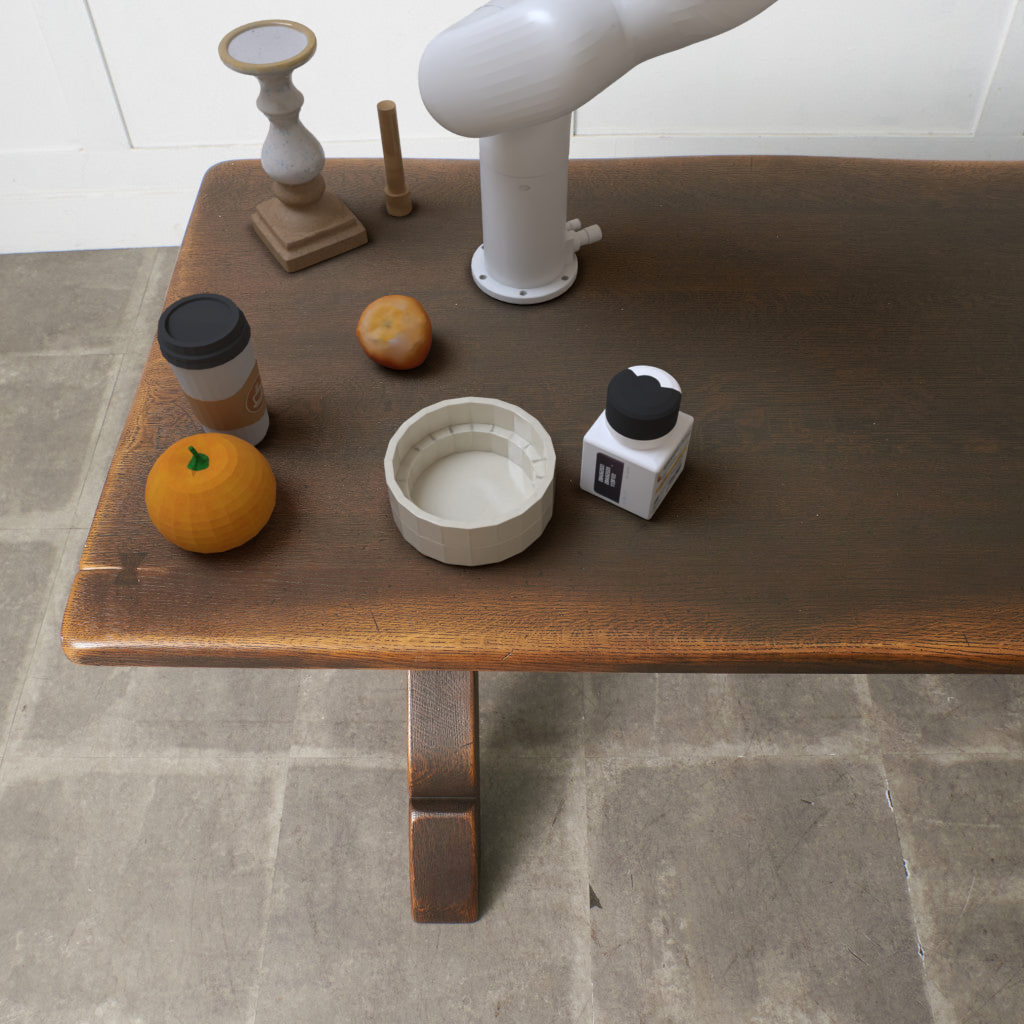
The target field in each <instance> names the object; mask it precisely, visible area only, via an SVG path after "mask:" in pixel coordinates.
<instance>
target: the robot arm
mask: <svg viewBox="0 0 1024 1024" xmlns="http://www.w3.org/2000/svg"><path fill="white" fill-rule="evenodd" d="M778 1H779V0H489V1H488V2H486V3H485V4H483V5H482V6H480V7H478V8H476V9H474V10H473V11H472V12H471V13H469V14H468V15H466V16H464V17H463V18H461V19H460V20H458V21H456V22H455V23H453V24H452V25H449V26H448V27H447V28H445V29H444V30H442V31H440V32H439V33H438V34H436V35H435V36H433V38H432V39H431V40H430V41H429V42H428V44H427V45H426V46H425V48H424V50H423V52H422V54H421V57H420V61H419V64H418V70H417V85H418V91H419V95H420V98H421V101H422V105H424V107H425V109H426V111H427V112H428V114H429V116H430V117H431V118H432V119H433V120H434V121H435V122H436V123H437V124H438V125H439V126H441V127H442V128H443V129H445V130H446V131H448V132H450V133H451V134H454V135H456V136H459V137H463V138H468V139H469V138H470V139H478V150H479V151H478V155H479V156H478V157H479V159H478V160H479V179H480V195H481V196H480V201H481V220H482V221H481V222H482V223H481V224H482V225H481V226H482V242H483V243H481V244H480V245H479V246H478V247H477V249H476V250H475V251H474V253H473V255H472V258H471V264H470V267H471V276H472V278H473V281H474V283H475V284H476V286H477V288H479V289H480V290H481V291H482V292H483V293H484V294H486V295H487V296H490V297H491V298H493V299H496V300H499V301H500V302H505V303H508V304H517V305H532V304H533V305H534V304H539V303H543V302H546V301H547V302H548V301H551V300H553V299H555V298H557V297H559V296H561V295H563V294H564V293H565V292H567V291H568V290H569V289H570V288H571V287H572V285H573V284H574V282H575V281H576V279H577V275H578V268H579V267H578V266H579V264H578V263H579V262H578V257H577V255H576V253H577V252H578V251H579V250H580V248H581V247H583V246H585V245H587V246H588V245H591V244H593V243H596V242H597V243H598V242H599V241H602V239H603V233H602V230H601V227H600V226H599V225H598V224H596V223H595V224H592V225H589V226H587V227H586V226H585V227H584V228H582V223H581V220H580V219H579V218H574V219H571V220H568V221H567V215H568V214H567V211H568V209H567V208H568V188H569V187H568V186H569V185H568V183H569V162H570V161H569V159H570V158H569V157H570V147H571V146H570V145H571V129H572V128H571V127H572V116H573V115H572V114H573V113H574V112H575V111H576V110H578V109H580V108H581V107H583V106H584V105H586V104H587V103H589V102H591V101H592V100H594V98H596V97H597V96H598V95H600V94H601V93H602V92H604V91H605V90H607V89H608V88H609V87H610V86H611V85H613V84H615V83H616V82H617V81H618V80H620V79H621V78H622V77H624V76H625V75H626V74H628V73H629V72H630V71H632V70H633V69H634V68H636V67H637V66H639V65H641V64H643V63H645V62H648V61H650V60H652V59H655V58H657V57H658V58H659V57H661V56H664V55H666V54H670V53H673V52H676V51H679V50H681V49H684V48H687V47H690V46H692V45H695V44H697V43H701V42H703V41H706V40H707V41H708V40H709V39H712V38H714V37H715V38H716V37H718V36H720V35H723V34H724V33H727V32H730V31H731V30H734V29H735V28H738V27H740V26H742V25H743V24H745V23H747V22H749V21H751V20H752V19H754V18H755V17H757V16H759V15H760V14H761V13H763V12H764V11H766V10H768V9H769V8H770V7H772V6H773V5H774V4H775V3H777V2H778Z"/></svg>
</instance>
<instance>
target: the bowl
mask: <svg viewBox="0 0 1024 1024" xmlns="http://www.w3.org/2000/svg"><path fill="white" fill-rule="evenodd" d="M383 466H384V475H385V483H386V488H387V493H388V498H389V503H390V508H391V514H392V518H393V521H394V524H395V525H396V527H397V528H398V530H399V533H400V534H401V535H402V538H403V539H404V541H406V542H408V543H409V544H410V545H411V546H412V547H413V548H415V550H417V551H418V552H420V553H421V554H422V555H423V556H427V557H429V558H432V559H434V560H437V561H439V562H442V563H444V564H447V565H455V566H457V565H458V566H466V567H476V566H483V565H489V564H494V563H500V562H503V561H506V560H507V559H509V558H512V557H513V556H516V555H518V554H520V553H523V552H524V551H525V550H526V549H527V548H528V547H530V546H531V545H532V544H533V543H534V542H535V541H536V540H538V539H539V538H540V537H541V536H542V534H543V533H544V531H545V529H546V527H547V525H548V523H549V522H550V520H551V519H552V516H553V511H554V503H555V497H556V495H555V494H556V473H557V471H556V470H557V455H556V451H555V447H554V444H553V440H552V437H551V436H550V434H549V433H548V431H547V430H546V429H545V427H544V426H543V425H542V424H541V422H540V421H539V420H538V419H537V418H536V417H534V416H533V415H532V414H530V413H528V412H527V411H526V410H524V409H523V408H522V407H520V406H518V405H515V404H512V403H510V402H506V401H503V400H501V399H498V398H492V397H481V396H480V397H479V396H465V397H456V398H449V399H444V400H441V401H439V402H435V403H433V404H431V405H428V406H426V407H423V408H421V409H420V410H419V411H418V412H416V413H414V414H413V415H411V416H410V417H409V418H408V419H406V420H405V421H403V423H401V425H400V426H399V427H398V429H397V430H396V432H395V433H394V435H392V437H391V438H390V440H389V443H388V445H387V449H386V452H385V456H384V459H383Z"/></svg>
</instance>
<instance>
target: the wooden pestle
mask: <svg viewBox="0 0 1024 1024" xmlns="http://www.w3.org/2000/svg"><path fill="white" fill-rule="evenodd" d="M376 110H377V111H376V113H377V118H378V126H379V133H380V140H381V141H380V142H381V147H382V155H383V162H384V170H385V177H386V185H385V186H384V189H383V190H384V191H383V192H384V199H385V207H386V211H387V213H388V215H390V216H392V217H398V218H399V217H404V216H405V217H406V216H407V215H409V214H410V213H411V212H412V210H413V205H412V196H411V195H412V194H411V187H410V185H409V184H408V183H407V182H406V179H405V170H404V162H403V153H402V145H401V137H400V136H401V135H400V128H399V121H398V112H397V104H396V102H395V101H393V100H391V99H390V100H389V99H385V100H384V99H383V100H381V101H379V102H377V104H376Z"/></svg>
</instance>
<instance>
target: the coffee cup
mask: <svg viewBox="0 0 1024 1024" xmlns="http://www.w3.org/2000/svg"><path fill="white" fill-rule="evenodd" d="M156 334H157V335H156V339H157V342H158V346H159V350H160V353H161V357H163V358H164V360H166V362H167V363H168V365H169V366H170V368H171V370H172V372H173V374H174V376H175V378H176V380H177V382H178V384H179V387H180V389H181V391H182V393H183V394H184V395H183V396H185V399H186V400H187V403H188V404H189V406H190V408H191V410H192V412H193V414H194V416H195V418H196V419H197V421H198V422H199V424H200V425H201V428H202V429H203V431H204V433H221V434H228V435H232V436H235V437H238V438H240V439H242V440H244V441H246V442H248V443H250V444H252V445H253V446H254V447H255V446H256V445H258V444H259V443H260V442H262V441H263V440H264V438H265V436H266V435H267V432H268V429H269V426H270V417H269V414H268V412H269V411H268V408H267V403H266V402H267V401H266V396H265V391H264V387H263V382H262V377H261V374H260V369H259V365H258V359H256V356H255V351H254V347H253V342H252V339H251V337H252V330H251V326H250V324H249V322H248V320H247V317H246V315H245V313H244V310H243V311H242V309H241V308H240V307H239V306H237V304H236V302H234V301H233V300H232V299H231V298H229V297H227V296H225V295H223V294H218V293H213V292H212V293H211V292H210V293H209V292H202V293H195V294H191V295H190V294H189V295H187V296H184V297H182V298H180V299H178V300H175V301H174V302H172V304H169V306H167V307H166V308H165V309H164V311H162V313H161V315H160V316H159V319H158V321H157V332H156Z"/></svg>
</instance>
